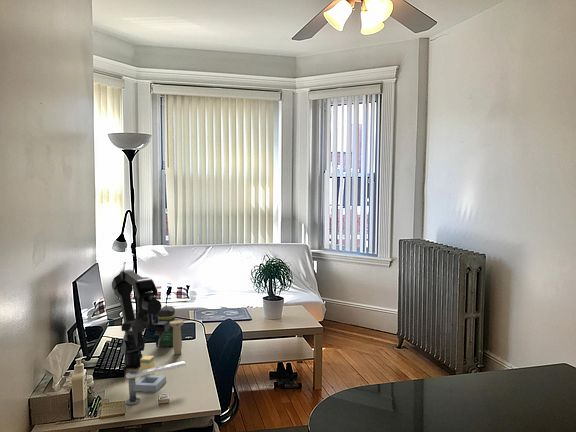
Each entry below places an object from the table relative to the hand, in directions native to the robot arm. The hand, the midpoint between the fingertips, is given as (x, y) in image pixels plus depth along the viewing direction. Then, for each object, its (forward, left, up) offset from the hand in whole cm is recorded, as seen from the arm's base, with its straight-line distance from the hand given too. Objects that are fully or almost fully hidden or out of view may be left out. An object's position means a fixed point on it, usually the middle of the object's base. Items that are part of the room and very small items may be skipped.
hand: (146, 346), depth 201 cm
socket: (+5, -9, -12) cm, 16 cm away
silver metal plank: (+12, -17, -3) cm, 21 cm away
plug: (0, 0, -12) cm, 13 cm away
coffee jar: (-8, +39, -13) cm, 42 cm away
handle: (+2, +27, -13) cm, 30 cm away
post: (+5, -23, -12) cm, 27 cm away
